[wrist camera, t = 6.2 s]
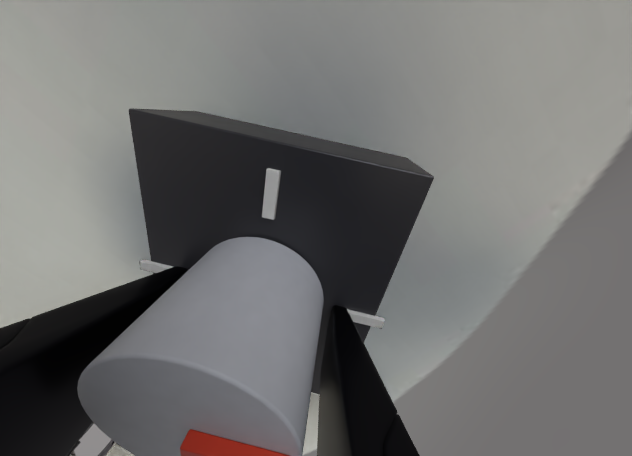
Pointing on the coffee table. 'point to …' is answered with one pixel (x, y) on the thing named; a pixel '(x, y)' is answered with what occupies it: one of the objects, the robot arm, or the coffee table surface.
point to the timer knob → (215, 359)
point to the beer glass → (92, 443)
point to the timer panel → (277, 203)
